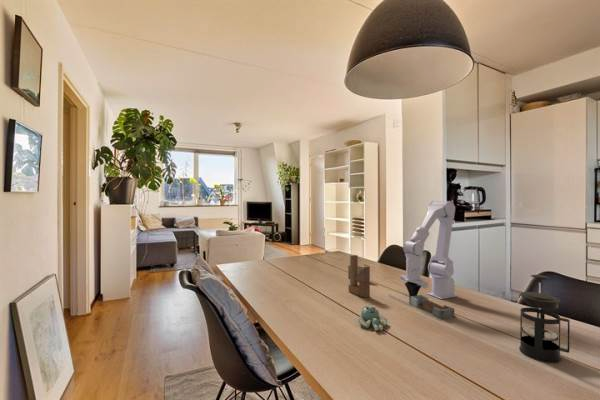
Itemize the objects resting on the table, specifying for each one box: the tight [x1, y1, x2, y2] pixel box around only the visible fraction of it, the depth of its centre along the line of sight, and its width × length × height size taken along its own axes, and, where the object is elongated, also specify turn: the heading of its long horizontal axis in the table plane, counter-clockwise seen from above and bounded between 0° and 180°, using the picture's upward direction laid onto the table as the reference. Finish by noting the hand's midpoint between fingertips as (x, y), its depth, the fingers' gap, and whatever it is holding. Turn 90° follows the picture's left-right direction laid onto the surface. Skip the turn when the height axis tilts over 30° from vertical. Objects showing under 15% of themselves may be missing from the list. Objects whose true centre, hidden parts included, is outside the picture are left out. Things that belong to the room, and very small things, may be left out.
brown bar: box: [422, 299, 447, 313], centre depth 117 cm, size 3×10×3 cm, turn 19°
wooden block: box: [348, 254, 371, 299], centre depth 137 cm, size 4×11×18 cm, turn 33°
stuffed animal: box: [358, 305, 388, 331], centre depth 104 cm, size 11×7×12 cm
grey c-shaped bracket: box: [432, 304, 455, 321], centre depth 112 cm, size 6×4×3 cm, turn 111°
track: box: [388, 292, 457, 321], centre depth 123 cm, size 9×29×1 cm, turn 21°
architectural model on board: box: [347, 263, 370, 282], centre depth 162 cm, size 11×3×10 cm, turn 48°
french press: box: [518, 274, 571, 364], centre depth 84 cm, size 12×9×23 cm
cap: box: [408, 294, 429, 308], centre depth 124 cm, size 6×4×3 cm, turn 111°
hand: (413, 299), depth 127 cm, fingers closed
